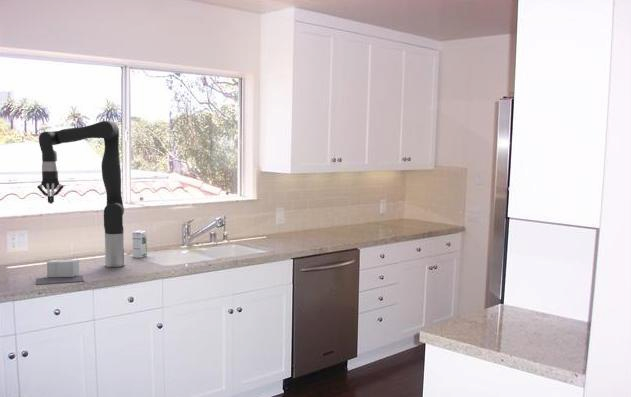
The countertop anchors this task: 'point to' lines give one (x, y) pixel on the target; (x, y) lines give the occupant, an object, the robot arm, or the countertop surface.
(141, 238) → the syrup box
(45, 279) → the rubber mat
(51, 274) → the supplement box
